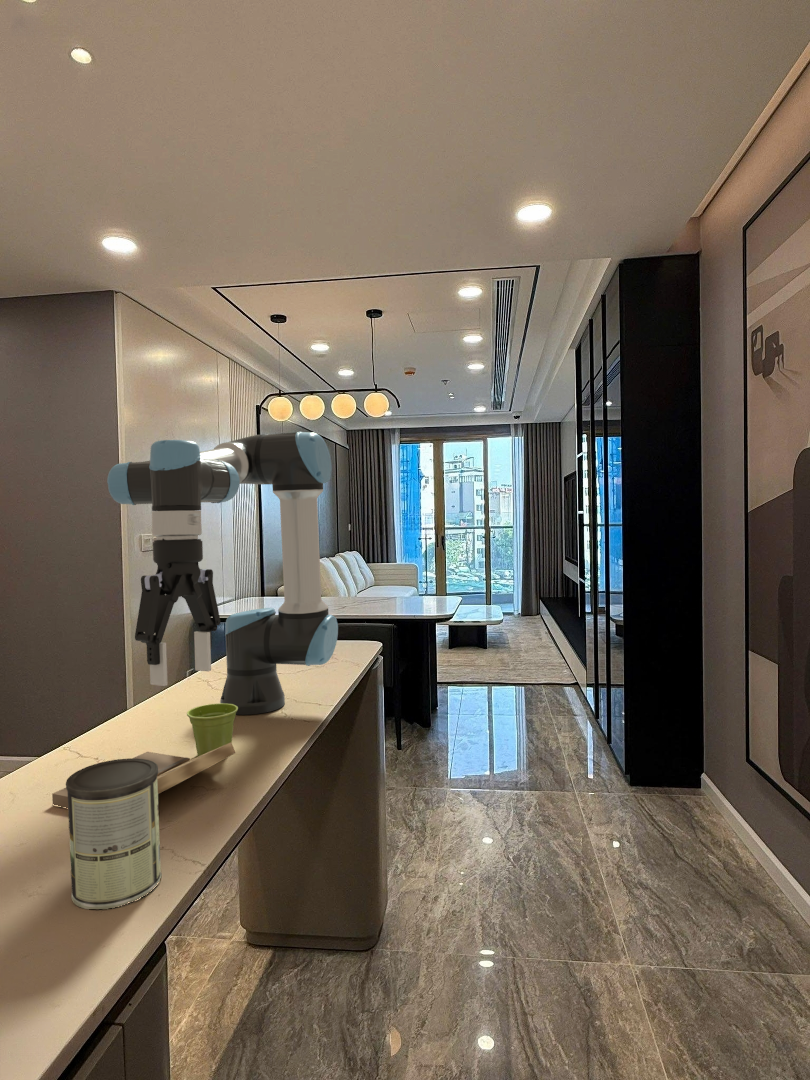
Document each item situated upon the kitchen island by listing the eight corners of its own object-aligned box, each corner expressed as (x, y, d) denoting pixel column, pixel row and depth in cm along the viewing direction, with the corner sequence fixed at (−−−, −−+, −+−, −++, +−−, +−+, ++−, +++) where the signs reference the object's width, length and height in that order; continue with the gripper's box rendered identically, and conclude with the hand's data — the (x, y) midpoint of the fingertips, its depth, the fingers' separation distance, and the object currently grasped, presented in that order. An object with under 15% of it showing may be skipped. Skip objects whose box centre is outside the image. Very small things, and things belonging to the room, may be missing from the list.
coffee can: (55, 891, 80) (50, 776, 80) (135, 856, 88) (132, 752, 88) (95, 922, 74) (90, 798, 73) (178, 881, 82) (174, 769, 81)
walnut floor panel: (147, 762, 123) (147, 751, 123) (190, 769, 119) (189, 758, 119) (52, 806, 104) (52, 793, 104) (98, 816, 101) (98, 802, 100)
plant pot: (186, 766, 120) (185, 719, 120) (189, 749, 129) (188, 705, 129) (239, 760, 123) (238, 714, 123) (238, 744, 132) (237, 701, 132)
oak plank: (195, 770, 118) (191, 759, 119) (235, 753, 115) (231, 742, 115) (104, 817, 100) (100, 804, 100) (149, 798, 96) (144, 785, 97)
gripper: (143, 540, 94) (148, 696, 94) (240, 535, 114) (243, 664, 115) (104, 540, 97) (109, 692, 97) (205, 536, 117) (209, 661, 118)
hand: (182, 677), depth 106 cm, fingers open, 9 cm apart
